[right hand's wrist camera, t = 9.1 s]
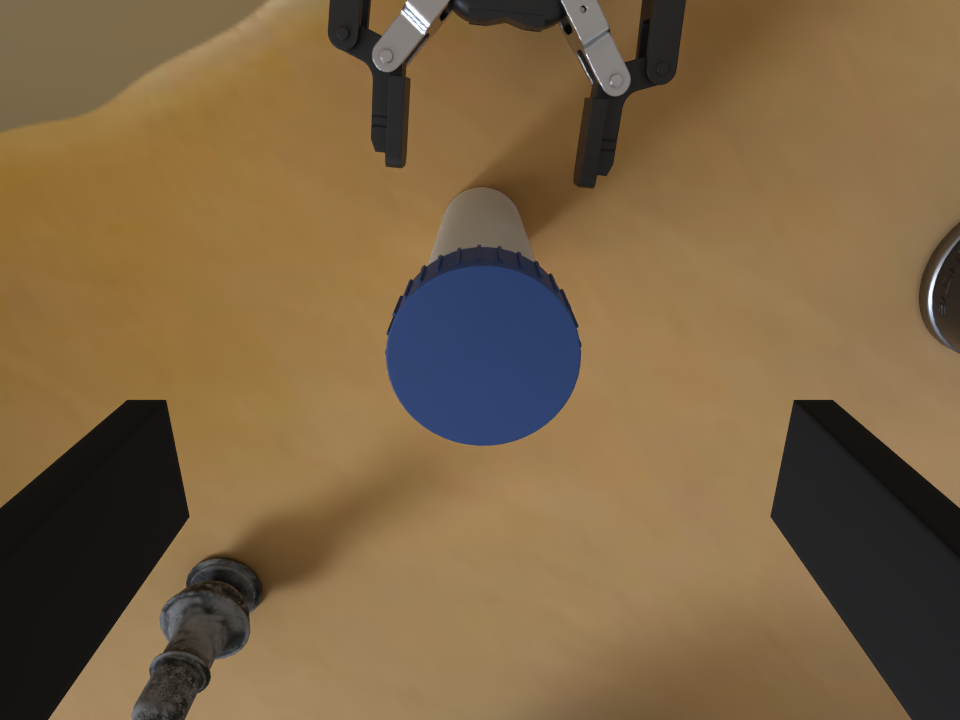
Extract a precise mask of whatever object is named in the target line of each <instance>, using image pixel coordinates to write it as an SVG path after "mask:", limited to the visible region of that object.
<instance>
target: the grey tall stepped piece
mask: <svg viewBox="0 0 960 720" xmlns="http://www.w3.org/2000/svg"><path fill="white" fill-rule="evenodd" d="M186 586H187V588H185V589H184V590H183V591H181V592H180V593H179V594H177V595H175V596H173V597H172V598H171V599H170V600H168V601H167V603H166V604H165V606H164V607H163V609H162V611H161V615H160V626H161V629H162V631H163V633H164V636H165V637H166V639H167V640H168V641H169V643H168V645H167V647H166V648H165V650H164V652H163V653H162V654H159V655H158V656H157V657H155V658H154V660H153V661H152V662H151V664H150V668H149V671H150V676H151V677H150V679H149V681H148V682H147V684H146V686H145V688H144V689H143V691H142V693H141V695H140V696H139V698H138V700H137V702H136V703H135V705H134V708H133V712H132V720H185V718H186V716H187V713H188V711H189V709H190V707H191V705H192V703H193V701H194V699H195V697H196V695H197V693H199V692H201V691H203V690H204V689H205V688H206V687H207V686H208V684H209V681H210V678H211V676H210V671H209V670H210V668H211V666H212V664H213V662H214V660H215V659H223V658H226V657H229V656H232V655H234V654H236V653H237V652H238V651H240V650H241V649H242V648H243V647H244V645H245V644H246V643H247V641H248V638H249V635H250V623H249V613H250V612H252V611H253V610H255V608H256V607H257V606H258V604H259V602H260V599H261V596H262V587H261V585H260V582H259V579H258V578H257V577H256V575H255V574H254V573H253V572H252V571H251V570H250V569H249V568H247V567H246V566H244V565H243V564H241V563H239V562H236V561H233V560H229V559H221V558H216V559H209V560H206V561H203V562H201V563H199V564H198V565H196V566H195V567H194V568H193V569H192V570H191V572H190V573H189V575H188V578H187V582H186Z"/></svg>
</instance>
